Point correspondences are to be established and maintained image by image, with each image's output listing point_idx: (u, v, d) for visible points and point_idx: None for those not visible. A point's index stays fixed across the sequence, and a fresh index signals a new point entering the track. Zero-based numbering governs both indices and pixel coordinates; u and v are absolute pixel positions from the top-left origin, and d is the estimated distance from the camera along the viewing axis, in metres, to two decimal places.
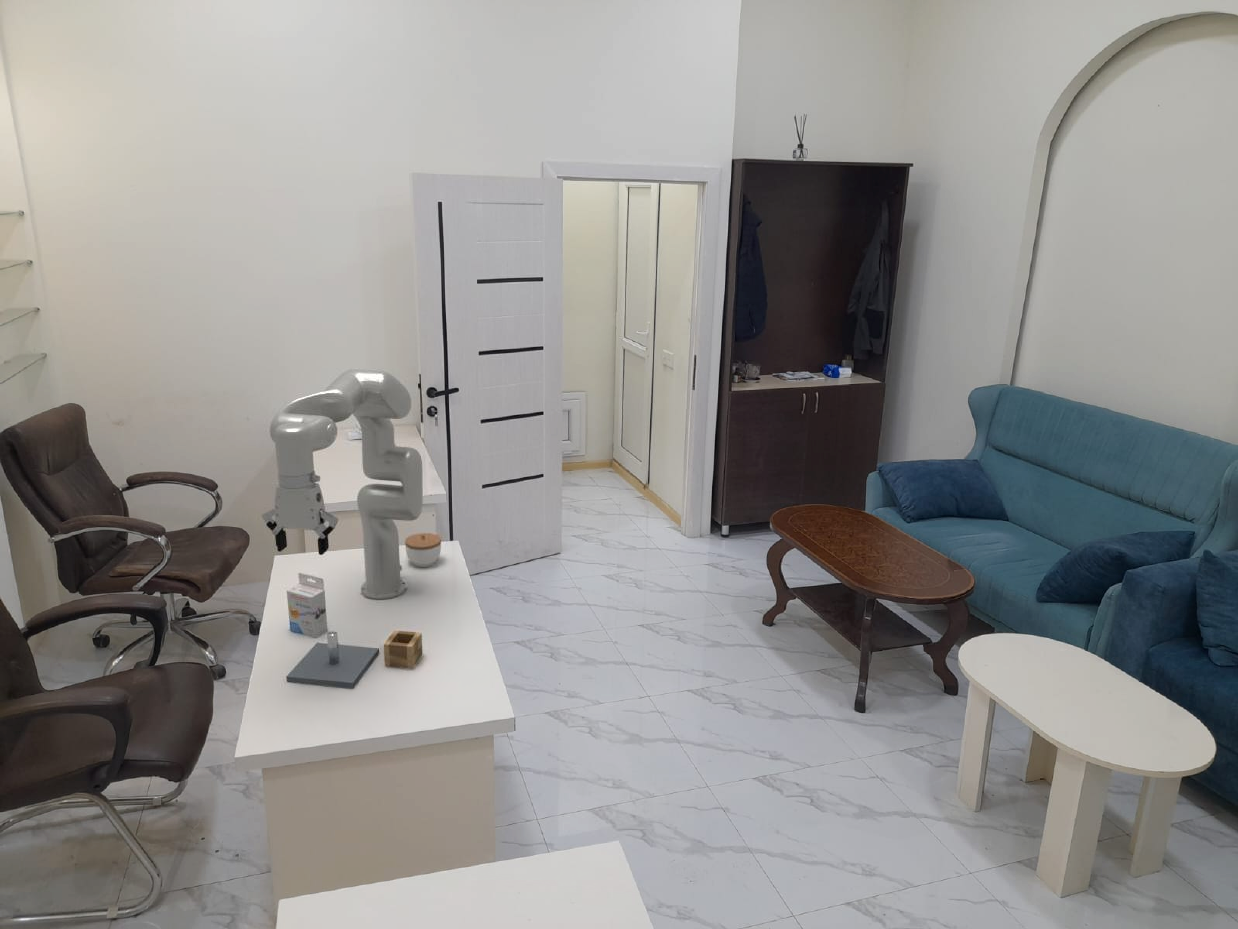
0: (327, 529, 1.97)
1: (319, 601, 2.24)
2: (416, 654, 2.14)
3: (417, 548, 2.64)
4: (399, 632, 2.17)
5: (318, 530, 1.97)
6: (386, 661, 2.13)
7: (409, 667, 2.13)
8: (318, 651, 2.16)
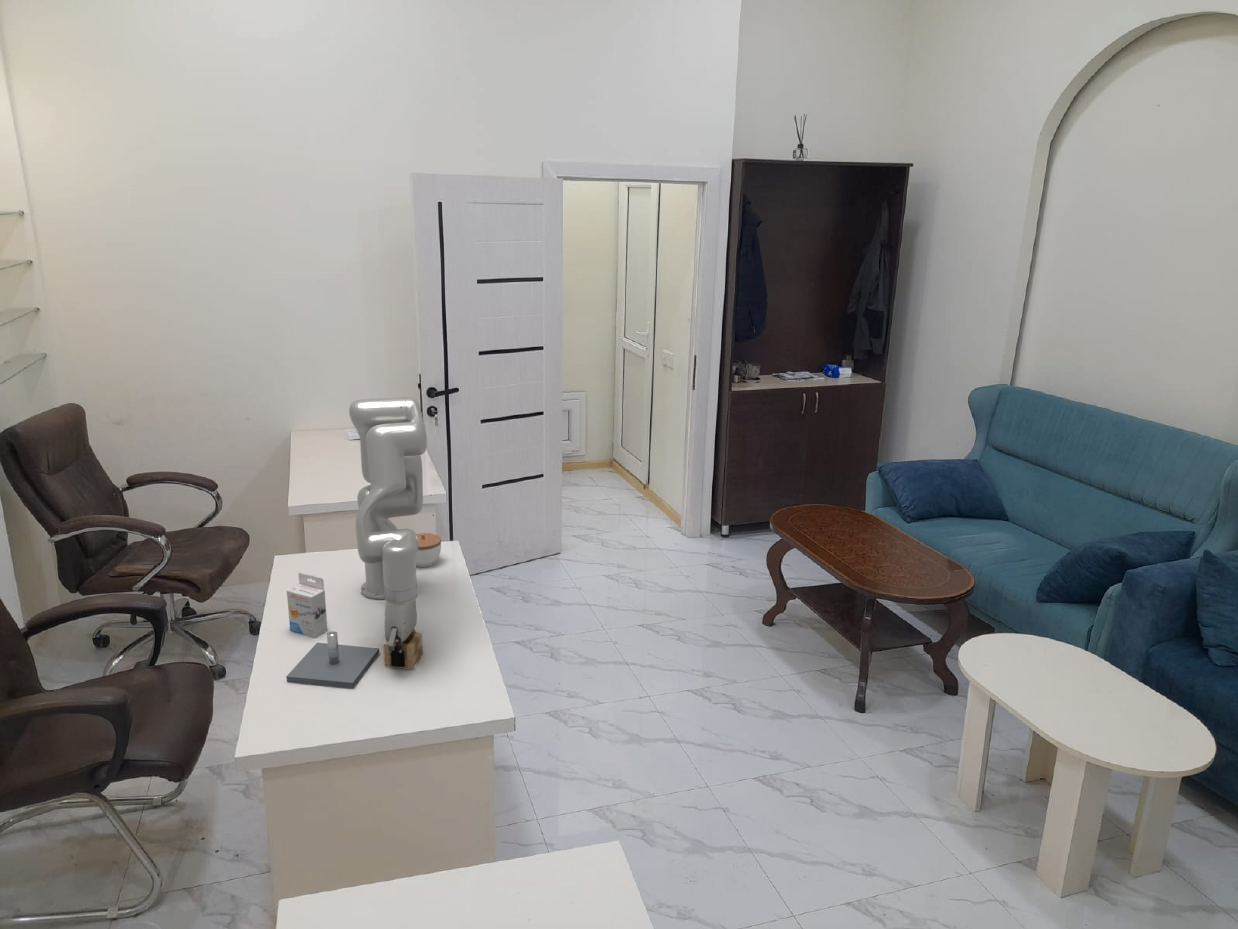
0: None
1: (319, 601, 2.24)
2: (416, 654, 2.14)
3: None
4: None
5: (413, 628, 2.18)
6: (386, 661, 2.13)
7: (409, 667, 2.13)
8: (318, 651, 2.16)
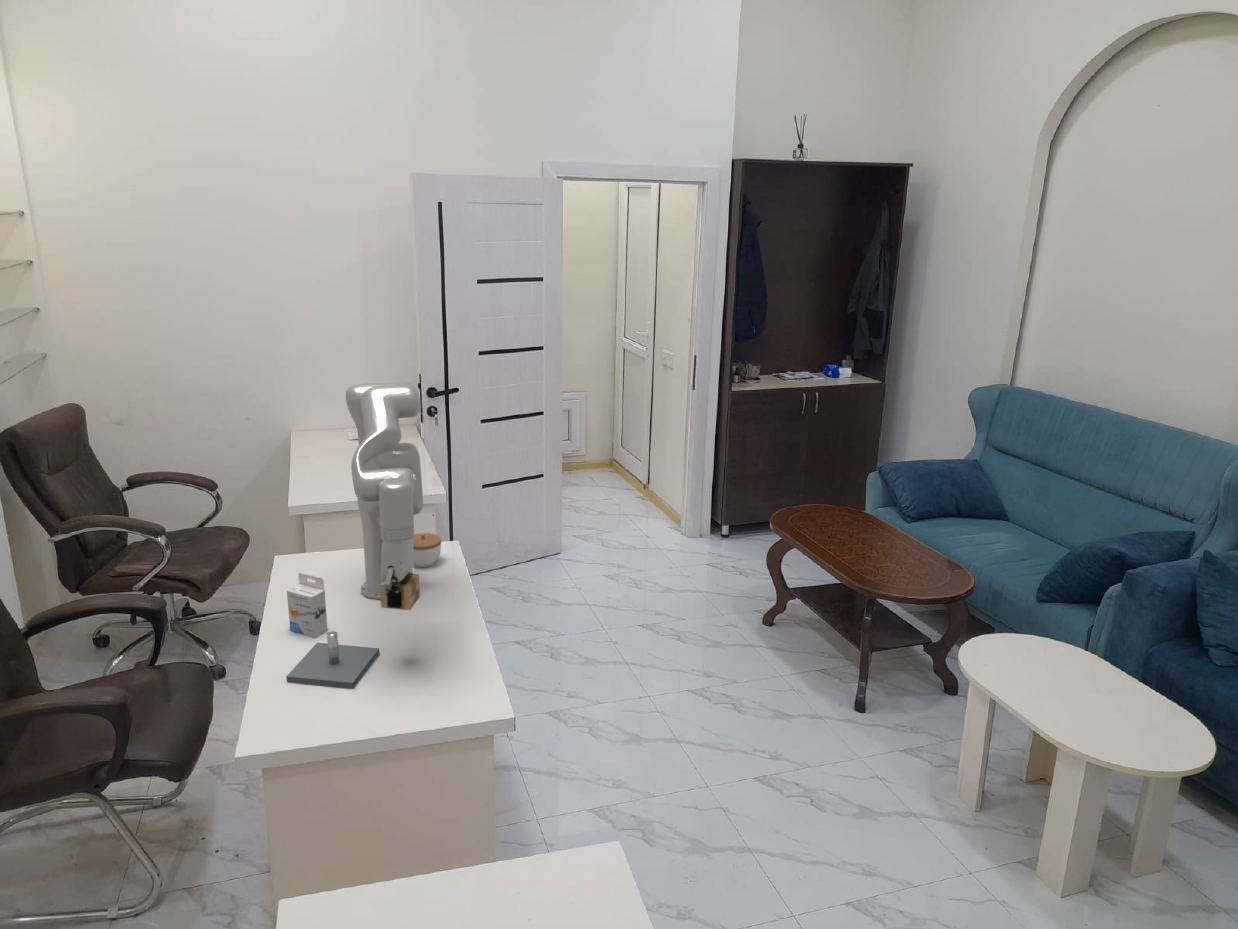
0: None
1: (319, 601, 2.24)
2: (413, 595, 2.10)
3: (417, 548, 2.64)
4: None
5: (411, 569, 2.14)
6: (383, 602, 2.09)
7: (406, 608, 2.08)
8: (318, 651, 2.16)
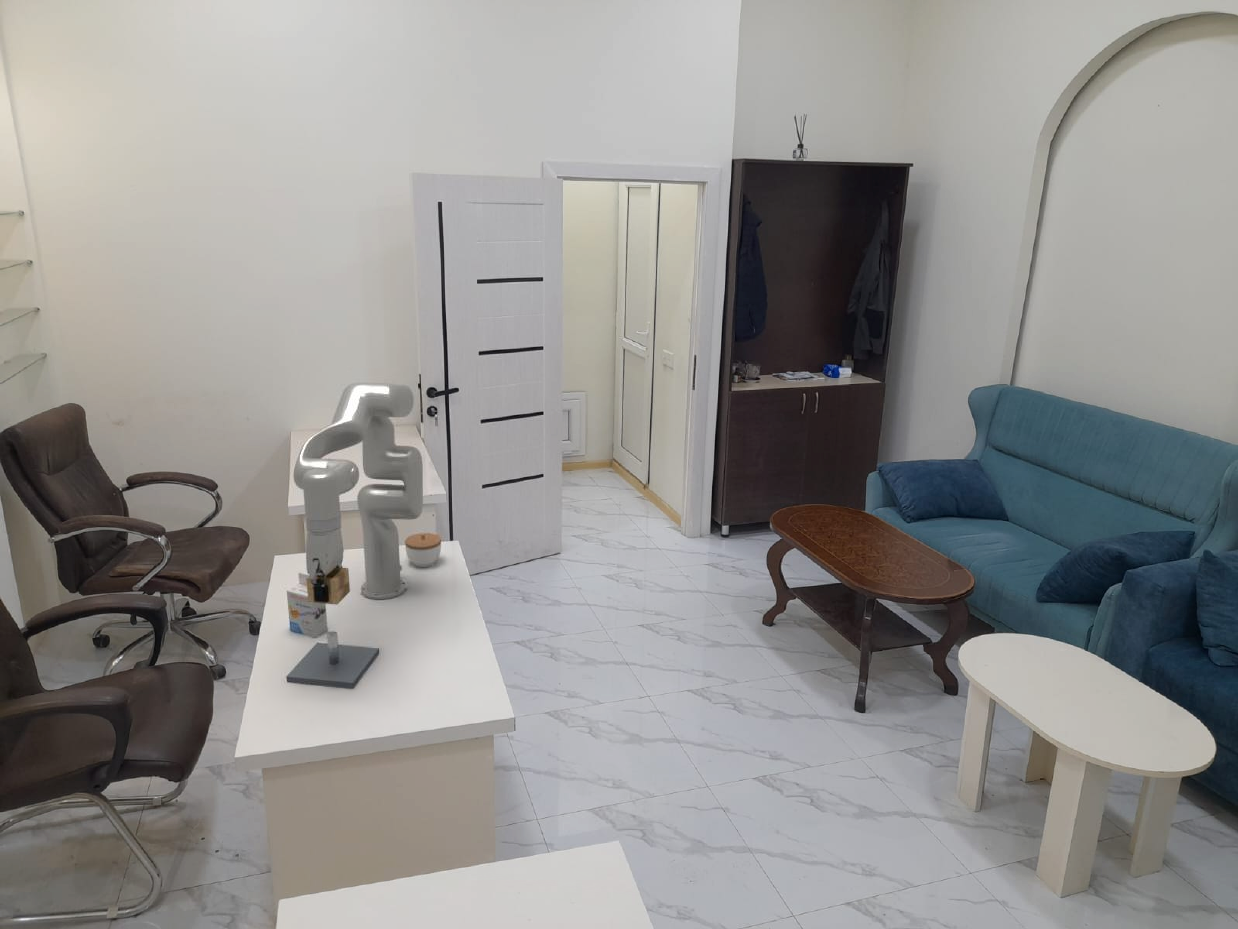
0: (341, 560, 2.10)
1: None
2: (341, 589, 2.04)
3: (417, 548, 2.64)
4: None
5: (340, 563, 2.08)
6: (310, 596, 2.03)
7: (333, 602, 2.03)
8: (318, 651, 2.16)
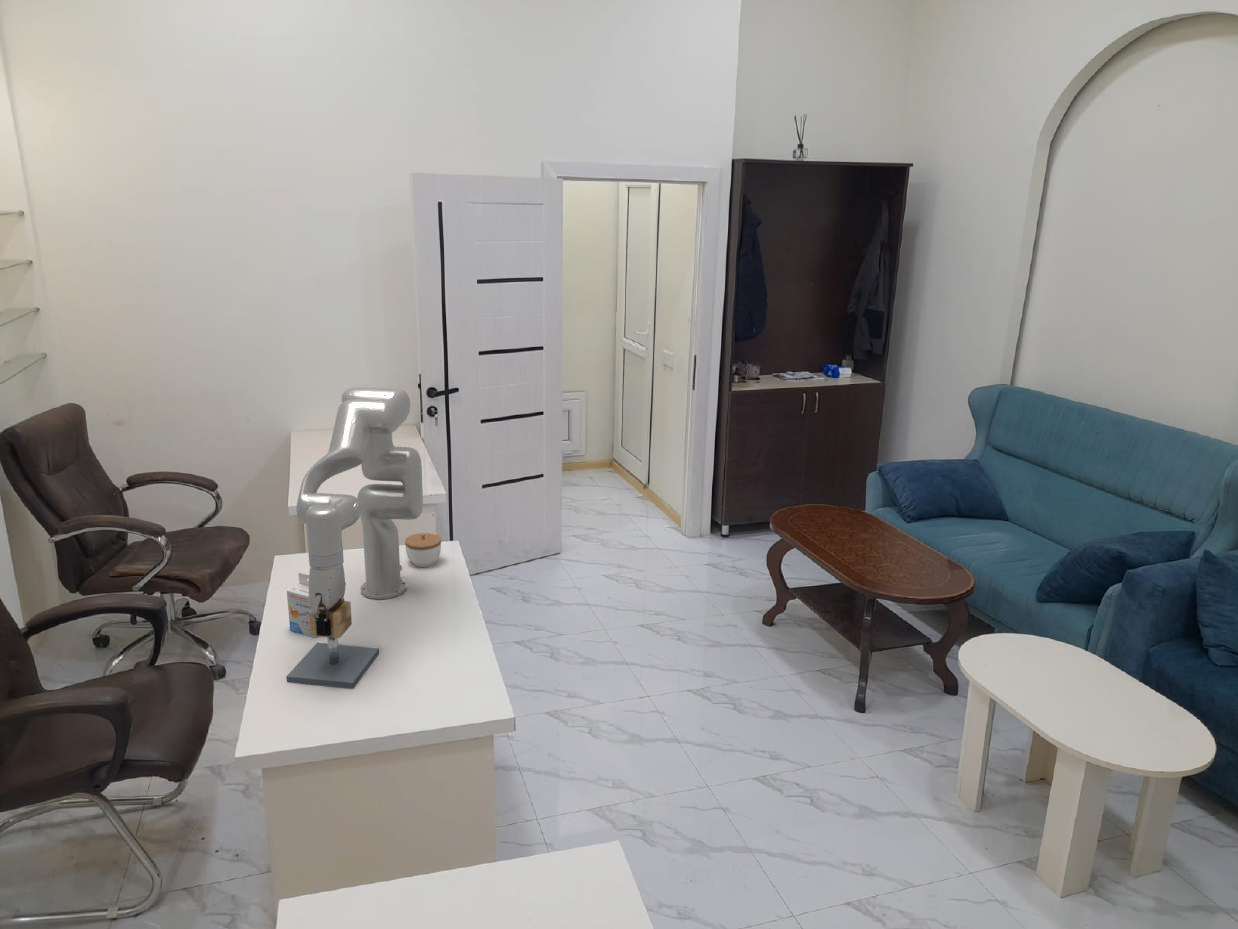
0: None
1: None
2: (343, 623, 2.07)
3: (417, 548, 2.64)
4: None
5: (342, 596, 2.11)
6: (312, 630, 2.06)
7: (336, 636, 2.05)
8: (318, 651, 2.16)
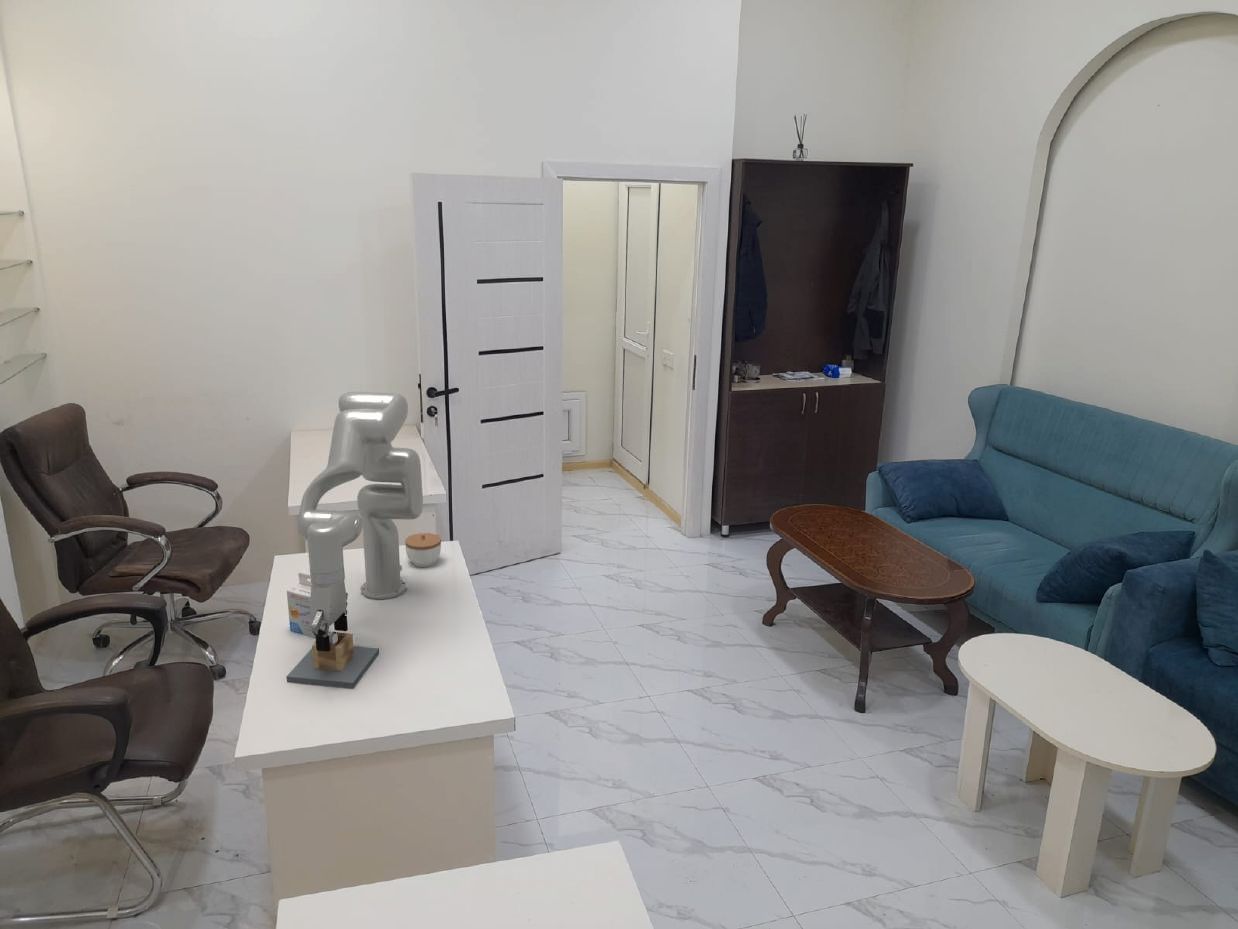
0: None
1: None
2: (346, 655, 2.10)
3: (417, 548, 2.64)
4: None
5: (344, 609, 2.13)
6: (315, 663, 2.08)
7: (338, 669, 2.08)
8: None
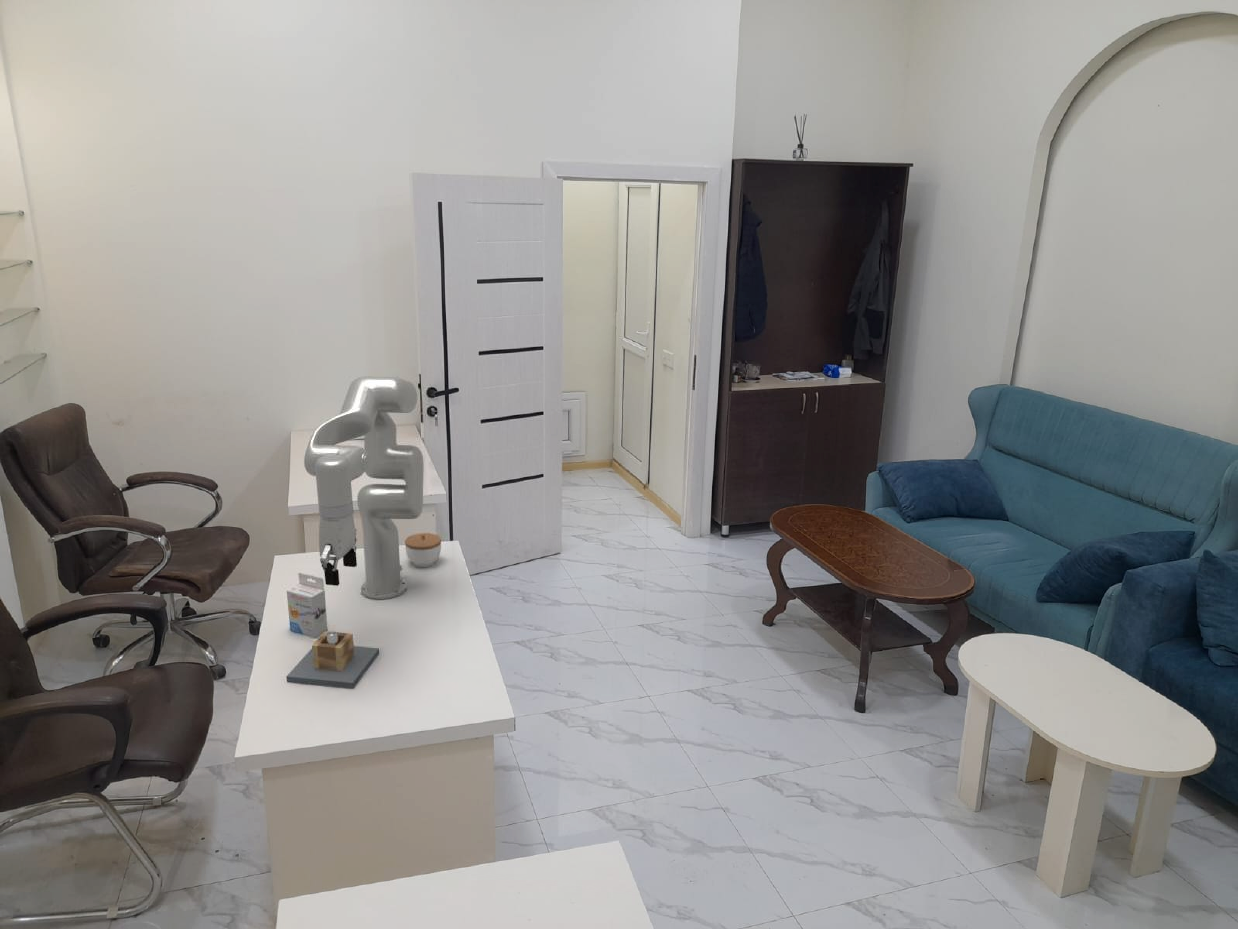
0: (354, 540, 2.14)
1: (319, 601, 2.24)
2: (346, 655, 2.10)
3: (417, 548, 2.64)
4: None
5: (353, 544, 2.12)
6: (315, 663, 2.08)
7: (338, 669, 2.08)
8: None
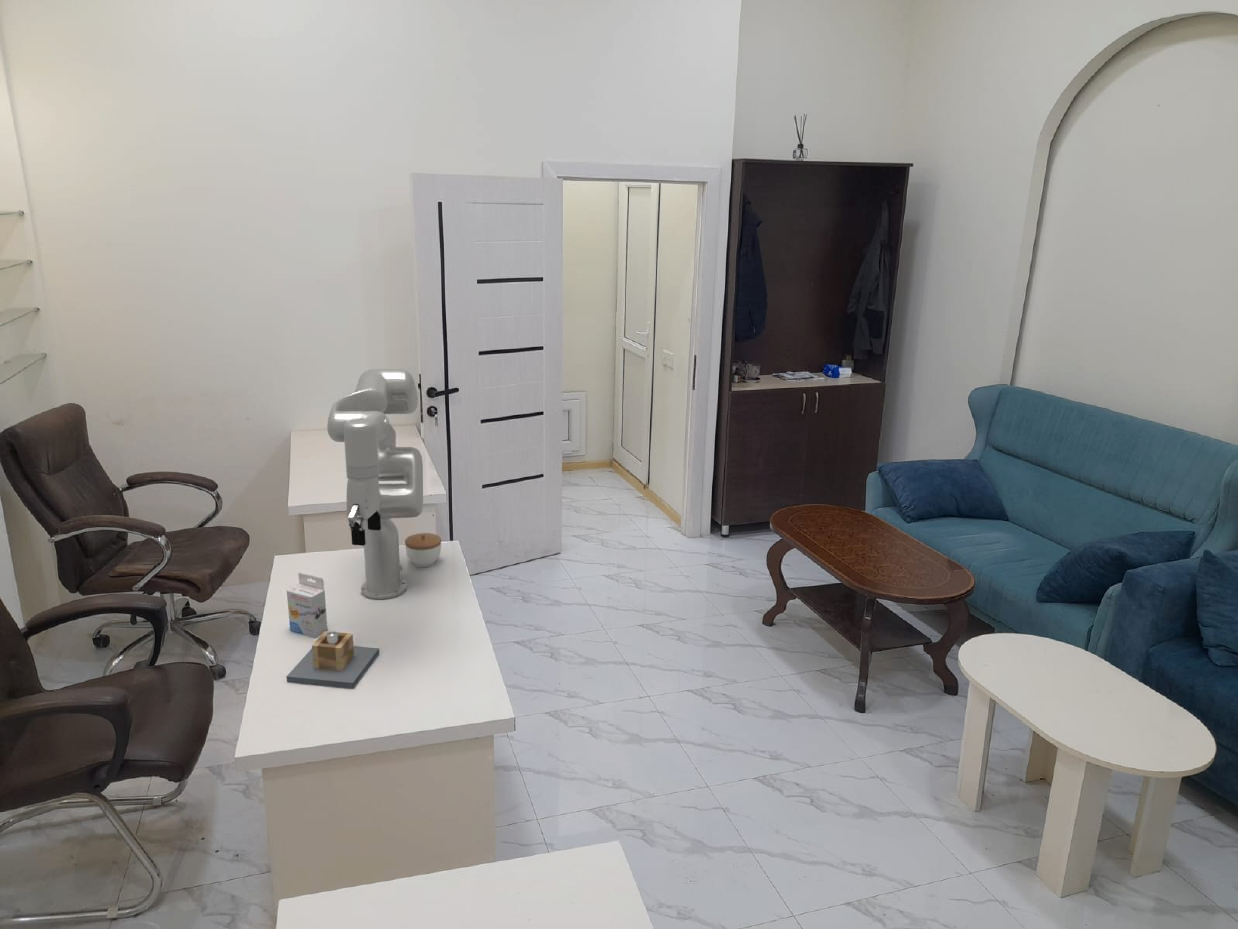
0: None
1: (319, 601, 2.24)
2: (346, 655, 2.10)
3: (417, 548, 2.64)
4: None
5: None
6: (315, 663, 2.08)
7: (338, 669, 2.08)
8: None
